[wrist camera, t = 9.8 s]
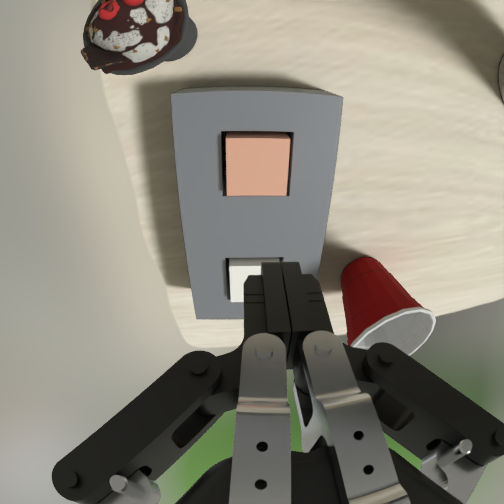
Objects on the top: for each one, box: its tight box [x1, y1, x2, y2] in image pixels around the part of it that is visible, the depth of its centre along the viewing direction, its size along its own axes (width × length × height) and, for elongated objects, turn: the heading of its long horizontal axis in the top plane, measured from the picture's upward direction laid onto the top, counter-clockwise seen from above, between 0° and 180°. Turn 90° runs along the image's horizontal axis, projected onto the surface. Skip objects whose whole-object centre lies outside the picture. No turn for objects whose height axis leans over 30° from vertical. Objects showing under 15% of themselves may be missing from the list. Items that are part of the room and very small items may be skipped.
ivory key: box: [229, 257, 280, 302], centre depth 31 cm, size 5×5×4 cm
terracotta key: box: [226, 131, 290, 196], centre depth 24 cm, size 5×5×4 cm
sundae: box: [81, 0, 197, 75], centre depth 14 cm, size 7×7×15 cm
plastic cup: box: [341, 257, 436, 356], centre depth 32 cm, size 11×11×12 cm
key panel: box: [171, 86, 343, 319], centre depth 28 cm, size 13×24×5 cm, turn 179°
